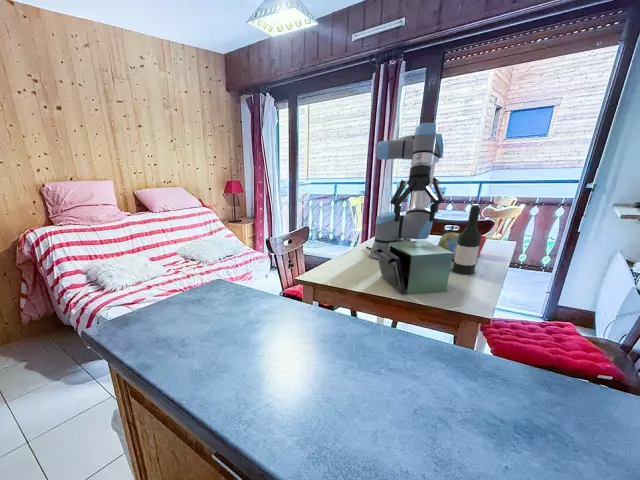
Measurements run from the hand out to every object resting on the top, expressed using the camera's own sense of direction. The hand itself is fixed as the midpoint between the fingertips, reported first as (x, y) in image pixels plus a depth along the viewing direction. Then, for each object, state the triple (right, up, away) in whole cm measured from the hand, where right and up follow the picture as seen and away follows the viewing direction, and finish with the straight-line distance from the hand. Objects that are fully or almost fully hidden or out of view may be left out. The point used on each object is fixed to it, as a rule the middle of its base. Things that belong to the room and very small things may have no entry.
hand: (413, 221), depth 130 cm
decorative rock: (+36, -11, +38) cm, 53 cm away
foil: (+22, -6, +54) cm, 59 cm away
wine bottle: (+32, -19, +19) cm, 42 cm away
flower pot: (+50, -9, +41) cm, 65 cm away
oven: (+5, -25, +9) cm, 27 cm away
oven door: (-5, -26, +9) cm, 28 cm away
